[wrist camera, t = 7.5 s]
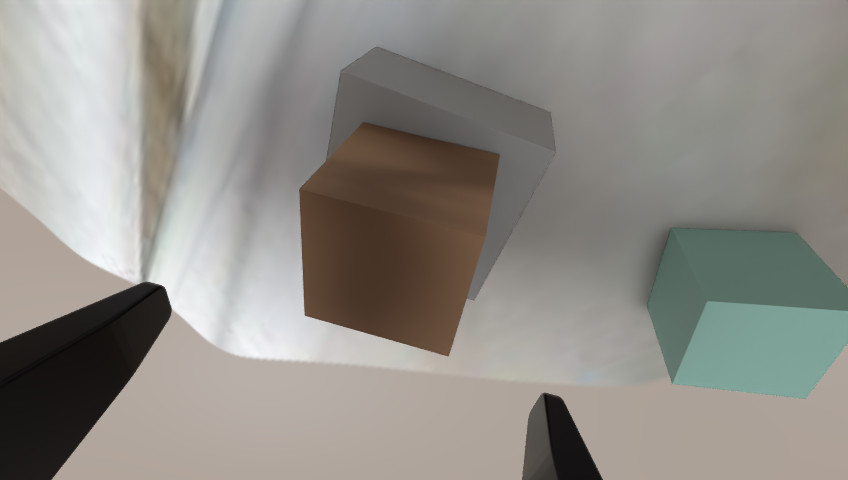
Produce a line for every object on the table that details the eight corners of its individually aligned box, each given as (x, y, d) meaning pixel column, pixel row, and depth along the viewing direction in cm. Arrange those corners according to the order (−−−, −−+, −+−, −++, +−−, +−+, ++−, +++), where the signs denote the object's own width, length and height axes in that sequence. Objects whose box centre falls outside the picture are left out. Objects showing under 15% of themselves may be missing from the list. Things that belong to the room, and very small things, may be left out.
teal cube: (795, 231, 16) (870, 312, 13) (753, 312, 19) (805, 398, 15) (670, 226, 17) (707, 301, 14) (646, 304, 20) (672, 383, 16)
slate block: (550, 109, 16) (555, 151, 13) (482, 243, 20) (473, 300, 17) (378, 44, 16) (340, 71, 12) (347, 193, 20) (313, 241, 17)
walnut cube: (500, 154, 13) (485, 237, 9) (468, 261, 16) (448, 356, 12) (363, 121, 13) (299, 189, 10) (356, 232, 16) (304, 315, 12)
